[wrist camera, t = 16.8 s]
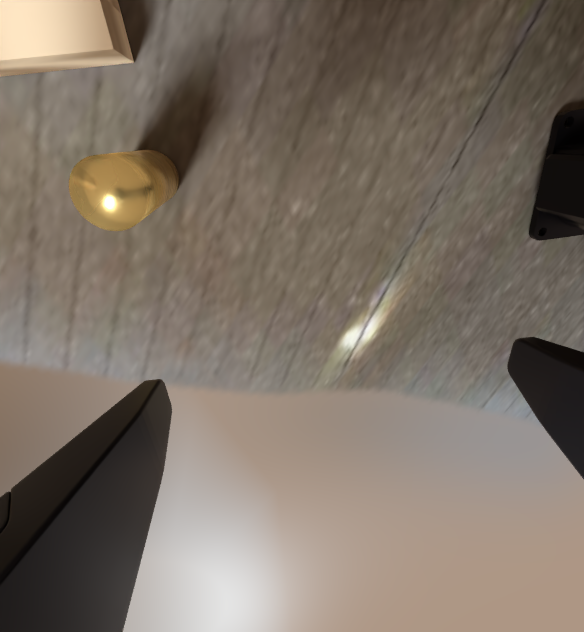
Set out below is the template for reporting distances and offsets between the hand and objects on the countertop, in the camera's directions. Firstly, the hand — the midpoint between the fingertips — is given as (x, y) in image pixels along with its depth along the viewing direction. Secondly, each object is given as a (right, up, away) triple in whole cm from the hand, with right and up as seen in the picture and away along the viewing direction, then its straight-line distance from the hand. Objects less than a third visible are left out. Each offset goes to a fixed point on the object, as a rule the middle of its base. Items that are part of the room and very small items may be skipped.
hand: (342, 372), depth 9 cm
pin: (-8, +8, +8) cm, 14 cm away
